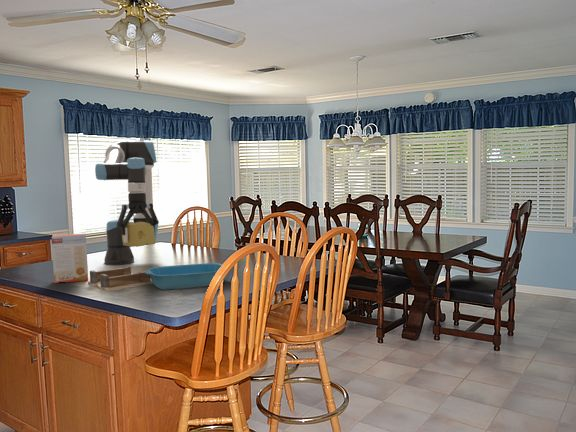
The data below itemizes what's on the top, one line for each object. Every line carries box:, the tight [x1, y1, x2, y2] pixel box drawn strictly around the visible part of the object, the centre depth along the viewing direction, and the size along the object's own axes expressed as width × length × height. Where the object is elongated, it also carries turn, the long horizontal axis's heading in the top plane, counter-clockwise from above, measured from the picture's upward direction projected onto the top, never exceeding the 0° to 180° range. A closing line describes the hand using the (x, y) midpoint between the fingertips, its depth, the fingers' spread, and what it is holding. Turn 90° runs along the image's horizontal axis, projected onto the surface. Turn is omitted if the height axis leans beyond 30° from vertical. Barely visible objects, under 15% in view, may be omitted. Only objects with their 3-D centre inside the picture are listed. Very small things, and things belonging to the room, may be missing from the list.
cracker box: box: [51, 233, 89, 284], centre depth 230 cm, size 14×6×21 cm, turn 110°
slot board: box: [87, 266, 154, 292], centre depth 227 cm, size 20×28×6 cm
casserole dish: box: [144, 262, 228, 291], centre depth 222 cm, size 37×22×7 cm, turn 113°
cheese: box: [122, 222, 157, 248], centre depth 232 cm, size 10×11×10 cm
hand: (138, 241), depth 232 cm, fingers closed on cheese, 12 cm apart
